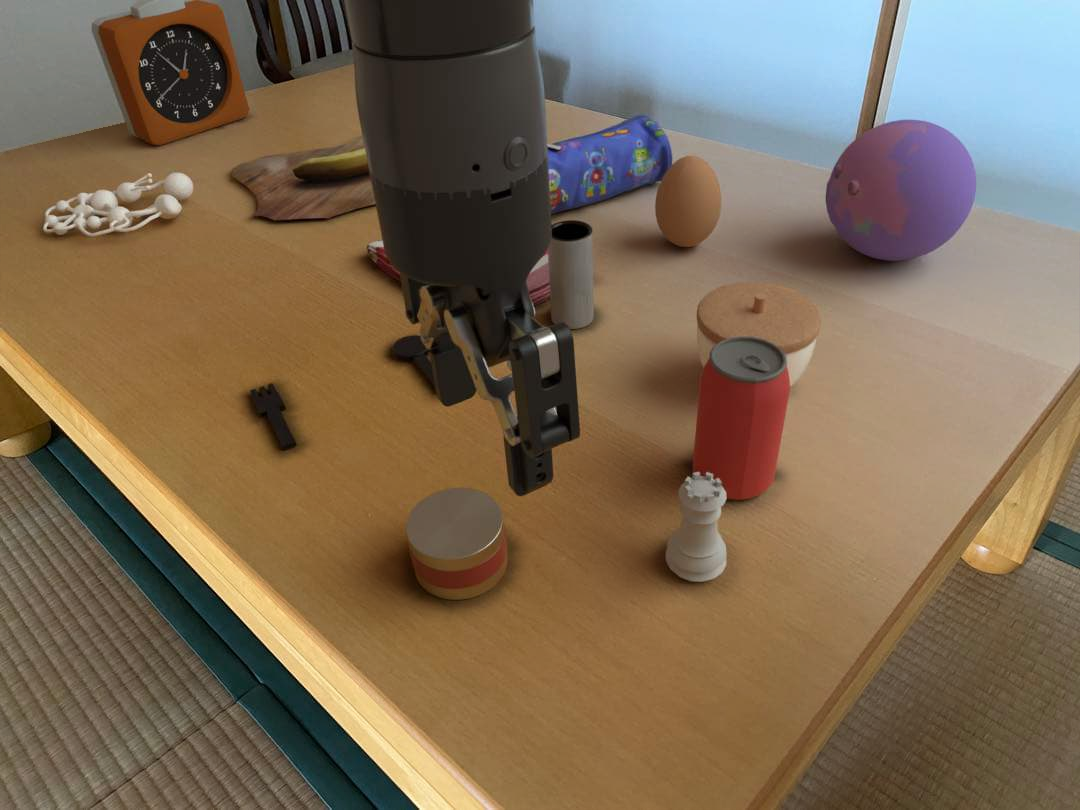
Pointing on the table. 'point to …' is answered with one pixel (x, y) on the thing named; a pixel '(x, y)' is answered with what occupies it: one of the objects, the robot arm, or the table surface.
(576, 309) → the grey hollow cylinder
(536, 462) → the robot arm
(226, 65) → the alarm clock
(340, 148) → the cutting board
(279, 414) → the fork
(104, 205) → the tangled rod sculpture
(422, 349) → the spoon
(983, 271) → the table surface
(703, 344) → the trinket box
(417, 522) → the tin can
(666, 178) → the egg
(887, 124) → the decorative ball
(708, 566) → the rook chess piece
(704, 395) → the beer can
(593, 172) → the pencil case
